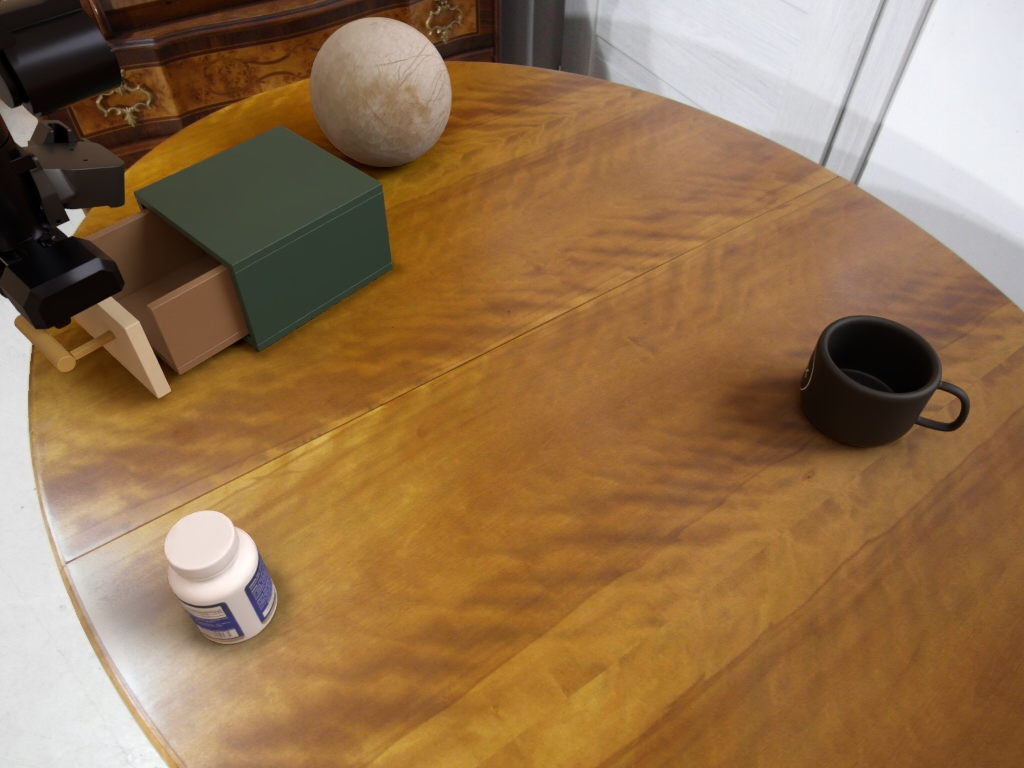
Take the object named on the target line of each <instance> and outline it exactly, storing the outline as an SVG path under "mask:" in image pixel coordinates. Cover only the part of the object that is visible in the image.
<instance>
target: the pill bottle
mask: <svg viewBox="0 0 1024 768" xmlns="http://www.w3.org/2000/svg"><path fill="white" fill-rule="evenodd" d="M163 543H164V544H163V553H164V557H165V559H166V560H167V562H168V566H167V578H168V579H167V580H168V583H169V586H170V589H171V590H172V593H174V595H175V597H176V598H177V600H178V601H179V603H180V604H181V605H182V607H183V608H184V610H185V611H186V613H187V615H188V616H189V618H190V619H191V620H192V621H193V624H194V625H195V626H196V628H197V629H198V630H199V631H200V633H201V634H202V635H203V636H204V637H205V638H207V639H208V640H210V641H212V642H215V643H217V644H224V645H231V644H238V643H239V644H240V643H242V642H245V641H247V640H249V639H251V638H253V637H255V636H257V635H258V634H259V633H261V632H262V631H263V630H264V629H265V628H266V627H267V626H268V624H269V623H270V622H271V620H272V619H273V617H274V614H275V613H276V609H277V606H278V605H277V604H278V592H277V589H276V586H275V583H274V581H273V579H272V577H271V575H270V573H269V571H268V568H267V566H266V564H265V562H264V560H263V557H262V555H261V554H260V551H259V549H258V547H257V545H256V542H255V541H254V539H253V538H252V537H251V536H250V535H249V534H248V532H246V531H245V530H243V529H242V528H240V527H237V526H235V525H234V523H233V522H232V520H231V519H230V518H229V517H228V516H227V515H225V514H224V513H222V512H220V511H216V510H208V509H207V510H206V509H205V510H198V511H195V512H191V513H190V514H187V515H185V516H183V517H181V518H180V519H179V520H178V521H177V522H176V523H175V524H174V525H173V526H171V528H170V529H169V530H168V532H167V534H166V536H165V539H164V542H163Z"/></svg>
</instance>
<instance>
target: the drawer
mask: <svg viewBox="0 0 1024 768" xmlns="http://www.w3.org/2000/svg"><path fill="white" fill-rule="evenodd" d="M82 239H86V240H90V241H91V242H92V243H93V244H95V245H96V246H97V247H98V248H99V249H101V250H102V251H103V252H104V253H105V254H107V255H108V256H109V257H110V258H111V259H113V260H114V261H115V262H116V264H117V266H118V269H119V271H120V273H121V275H122V277H123V279H124V282H125V285H124V287H123V290H122V291H121V292H119V293H117V294H115V295H113V296H111V297H109V298H107V299H105V300H103V301H102V302H100V303H98V304H96V305H94V306H92V307H90V308H88V309H86V310H84V311H82V312H80V313H79V314H77V315H75V316H73V318H74V320H75V322H76V323H77V324H78V325H79V326H80V327H81V328H82V329H83V330H85V331H86V332H87V333H88V334H89V335H90V336H91V337H92V339H91V340H88V341H87V342H85V343H83V344H81V345H79V346H78V347H76V348H73V349H72V350H70V351H68V350H67V349H66V348H65V347H64V346H63V345H62V344H61V343H60V342H59V341H58V340H57V339H56V338H54V336H53V335H51V333H50V332H49V331H48V330H47V329H35V328H34V327H33V326H32V325H31V324H30V323H29V322H28V321H27V320H26V319H25V318H24V317H23V316H22V315H21V314H19V315H17V316H16V317H15V318H14V320H13V324H14V327H15V328H16V329H17V330H18V332H20V333H21V334H22V335H23V336H24V337H25V338H26V339H27V340H28V342H30V343H31V344H32V345H33V346H34V347H35V349H37V350H38V351H39V353H40V354H42V355H43V356H44V358H46V359H47V360H48V362H49V363H51V365H52V366H54V368H55V369H56V370H57V371H58V372H61V373H68V372H70V371H72V370H73V369H74V368H75V367H76V364H77V361H78V360H80V359H81V358H83V357H85V356H87V355H88V354H91V353H93V352H94V351H96V350H98V349H100V348H101V347H103V348H104V349H105V350H106V351H107V352H108V354H110V355H111V356H112V357H113V358H114V359H115V360H116V361H117V362H119V363H120V364H121V365H122V367H124V368H125V369H126V370H127V371H128V372H129V373H130V374H131V375H132V376H134V378H136V379H137V380H138V381H139V382H140V383H141V384H142V385H143V386H144V387H145V388H146V389H147V390H148V391H149V392H150V393H152V395H154V396H155V397H156V398H157V399H162V398H163V397H165V396H166V395H167V394H169V393H171V392H172V389H171V387H170V385H169V383H168V381H167V379H166V378H167V377H166V376H165V373H164V372H163V370H162V368H161V365H160V363H159V361H158V358H157V357H156V356H158V357H159V358H160V359H161V360H162V361H163V362H164V363H165V364H167V365H168V367H170V368H171V369H172V370H173V371H175V372H176V374H178V375H179V376H182V375H183V374H185V373H187V372H189V371H190V370H192V369H193V368H195V367H197V366H198V365H200V364H202V363H203V362H205V361H207V360H208V359H210V358H212V357H213V356H214V355H217V354H218V353H220V352H222V350H225V349H226V348H228V347H230V346H231V345H233V344H234V343H236V342H238V341H239V340H241V339H243V337H244V336H246V335H248V334H249V330H248V327H247V324H246V321H245V318H244V315H243V311H242V308H241V305H240V302H239V299H238V296H237V293H236V290H235V287H234V284H233V281H232V278H231V274H230V271H229V269H228V268H227V267H226V266H224V265H223V264H222V263H220V262H219V261H218V260H216V259H215V258H214V257H212V256H211V255H210V254H208V253H207V252H206V251H204V250H203V249H202V248H200V247H199V246H198V245H196V244H195V243H194V242H192V241H191V240H190V239H188V238H187V237H186V236H184V235H183V234H182V233H180V232H179V231H178V230H176V229H175V228H174V227H172V226H171V225H170V224H168V223H167V222H166V221H164V220H163V219H162V218H160V217H159V216H158V215H156V214H155V213H154V212H152V211H151V210H150V209H148V208H146V209H144V210H142V211H141V210H139V211H138V212H135V213H133V214H131V215H129V216H127V217H124V218H123V219H121V220H118V221H116V222H114V223H112V224H110V225H108V226H105V227H103V228H102V229H99V230H97V231H95V232H93V233H90V234H88V235H86V236H84V237H82Z"/></svg>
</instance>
